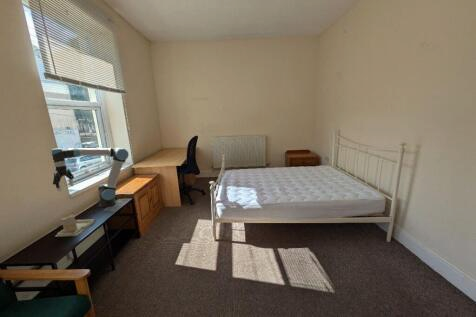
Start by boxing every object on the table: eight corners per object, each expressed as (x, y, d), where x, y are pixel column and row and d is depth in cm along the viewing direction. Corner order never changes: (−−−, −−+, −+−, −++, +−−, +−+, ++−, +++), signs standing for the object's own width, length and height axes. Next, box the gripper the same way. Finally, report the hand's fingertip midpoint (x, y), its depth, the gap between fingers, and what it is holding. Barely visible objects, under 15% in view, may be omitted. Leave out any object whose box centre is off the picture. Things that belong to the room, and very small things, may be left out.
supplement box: (77, 228, 169) (74, 214, 166) (77, 230, 165) (74, 216, 163) (64, 232, 163) (61, 217, 161) (64, 234, 160) (61, 219, 157)
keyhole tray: (76, 222, 180) (75, 220, 180) (95, 221, 180) (94, 219, 180) (54, 236, 158) (54, 233, 158) (76, 235, 159) (75, 233, 158)
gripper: (67, 162, 189) (72, 184, 193) (43, 169, 164) (49, 193, 169) (75, 162, 189) (80, 183, 193) (52, 169, 165) (58, 193, 169)
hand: (66, 188), depth 181 cm, fingers open, 13 cm apart
